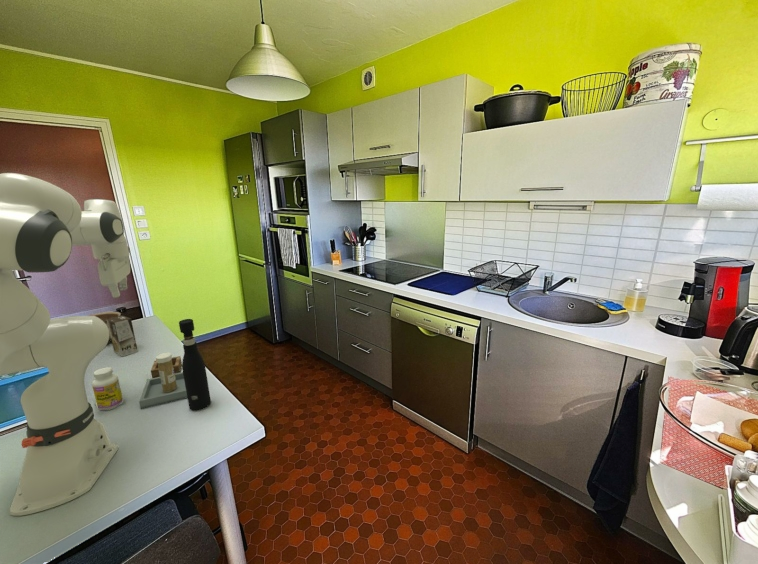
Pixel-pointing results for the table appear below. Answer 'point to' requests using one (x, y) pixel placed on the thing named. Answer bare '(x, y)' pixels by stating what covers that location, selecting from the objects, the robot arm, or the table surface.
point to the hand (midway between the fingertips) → (120, 293)
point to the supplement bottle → (106, 389)
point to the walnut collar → (176, 365)
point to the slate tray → (155, 393)
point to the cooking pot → (106, 317)
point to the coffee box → (122, 335)
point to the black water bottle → (194, 369)
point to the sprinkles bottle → (166, 372)
